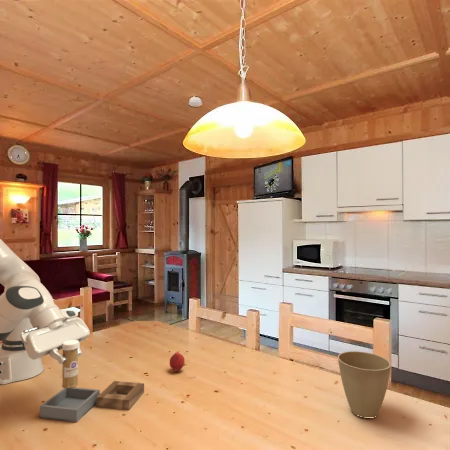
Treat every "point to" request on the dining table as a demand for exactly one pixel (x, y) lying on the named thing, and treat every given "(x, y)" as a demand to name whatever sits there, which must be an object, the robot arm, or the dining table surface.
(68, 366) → the sprinkles bottle
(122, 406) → the collar block
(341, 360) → the plant pot
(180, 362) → the onion
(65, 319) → the robot arm
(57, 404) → the tray
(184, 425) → the dining table surface
